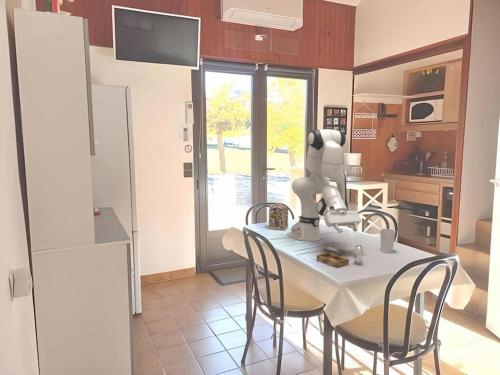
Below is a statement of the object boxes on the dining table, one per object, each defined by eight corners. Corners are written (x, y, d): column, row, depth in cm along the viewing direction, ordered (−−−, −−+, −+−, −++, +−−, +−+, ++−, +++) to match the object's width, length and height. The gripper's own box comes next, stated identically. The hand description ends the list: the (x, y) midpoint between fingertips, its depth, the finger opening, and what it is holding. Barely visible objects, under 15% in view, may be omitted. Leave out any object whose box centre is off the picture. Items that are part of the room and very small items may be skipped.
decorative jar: (284, 230, 254) (285, 204, 252) (268, 229, 258) (268, 203, 255) (288, 227, 265) (288, 202, 263) (272, 225, 269) (272, 201, 267)
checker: (323, 252, 205) (323, 247, 205) (331, 250, 210) (332, 245, 209) (336, 256, 198) (336, 250, 198) (344, 254, 203) (344, 248, 202)
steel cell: (352, 263, 187) (353, 244, 186) (357, 262, 189) (358, 243, 188) (359, 265, 184) (359, 246, 183) (364, 264, 186) (364, 245, 185)
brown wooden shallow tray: (316, 260, 191) (316, 255, 191) (327, 257, 196) (327, 252, 196) (337, 267, 180) (337, 262, 180) (348, 264, 185) (348, 259, 185)
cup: (376, 251, 208) (377, 230, 207) (383, 248, 214) (384, 228, 212) (390, 254, 203) (391, 232, 201) (396, 251, 208) (398, 230, 207)
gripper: (352, 212, 208) (362, 233, 199) (320, 214, 201) (329, 236, 193) (357, 205, 203) (367, 227, 195) (324, 207, 196) (333, 229, 188)
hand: (348, 231), depth 194 cm, fingers open, 8 cm apart
